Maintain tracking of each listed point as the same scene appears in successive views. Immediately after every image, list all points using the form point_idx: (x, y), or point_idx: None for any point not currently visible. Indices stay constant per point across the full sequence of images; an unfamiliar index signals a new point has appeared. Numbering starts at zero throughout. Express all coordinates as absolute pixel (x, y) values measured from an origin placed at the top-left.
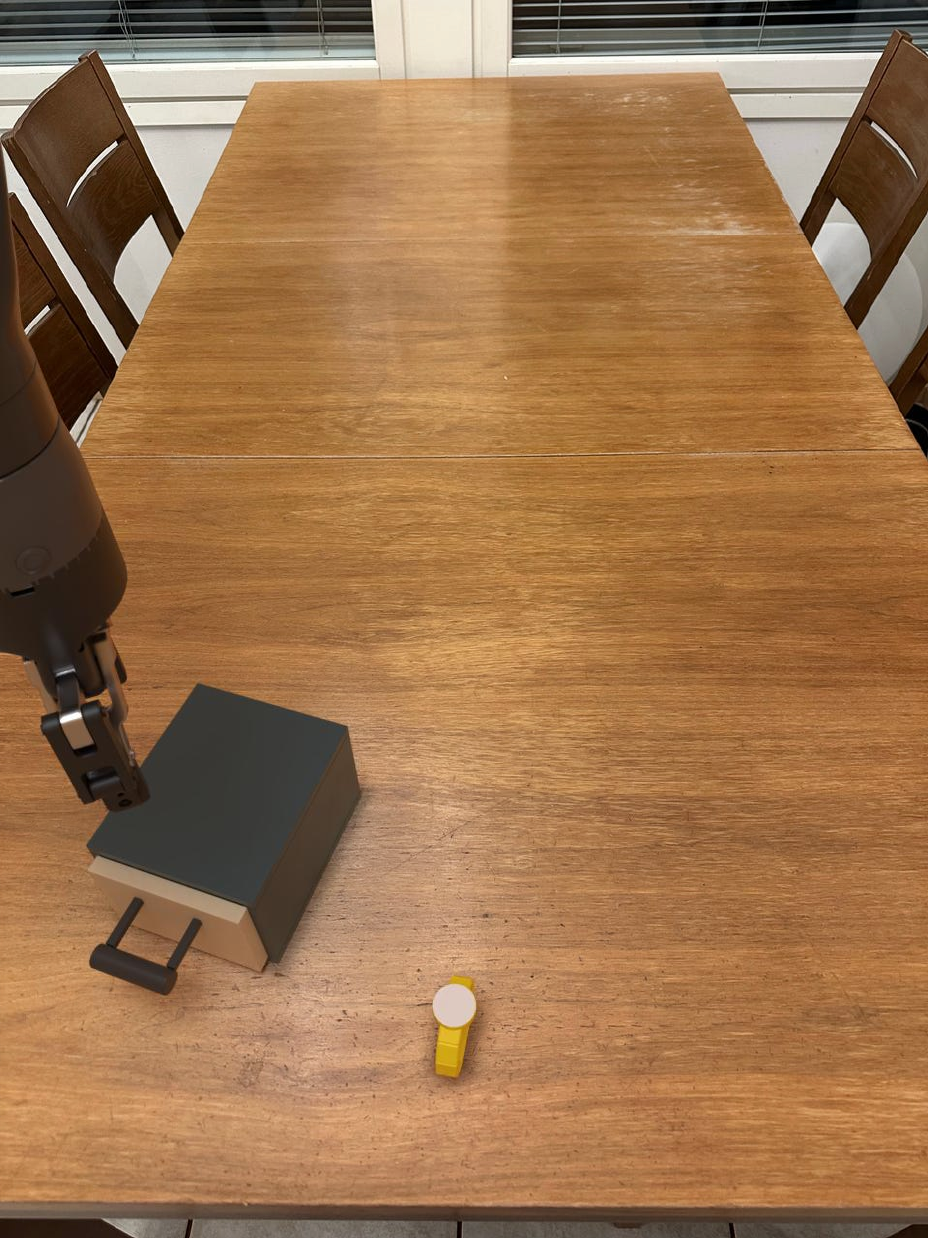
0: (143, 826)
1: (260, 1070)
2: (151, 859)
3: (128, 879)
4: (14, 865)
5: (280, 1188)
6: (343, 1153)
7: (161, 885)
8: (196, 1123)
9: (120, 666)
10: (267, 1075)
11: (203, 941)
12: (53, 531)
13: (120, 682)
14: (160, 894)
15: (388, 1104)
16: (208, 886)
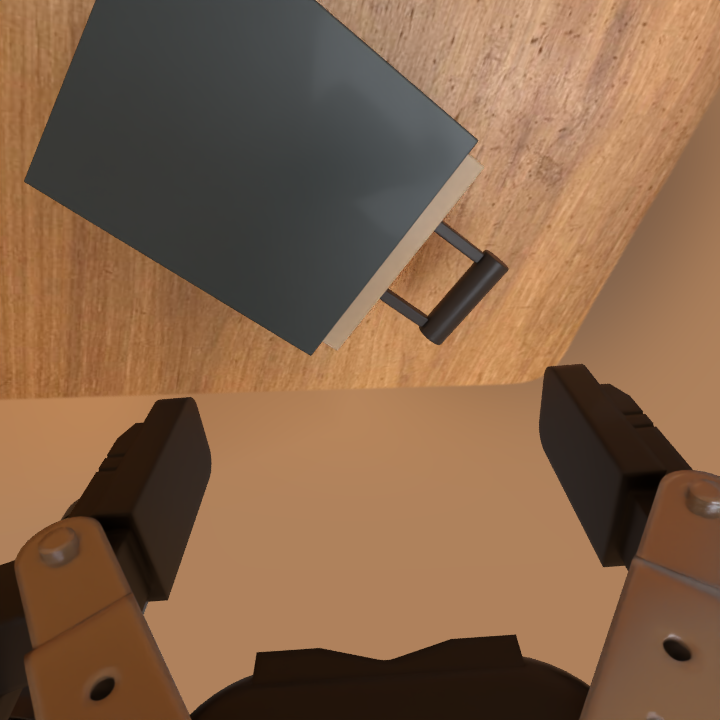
0: (300, 285)
1: (551, 160)
2: (356, 278)
3: (366, 305)
4: (240, 389)
5: (671, 156)
6: (679, 79)
7: (388, 265)
8: (570, 232)
9: (173, 432)
10: (560, 153)
11: None
12: None
13: (194, 409)
14: (401, 267)
15: (662, 6)
16: (425, 204)
